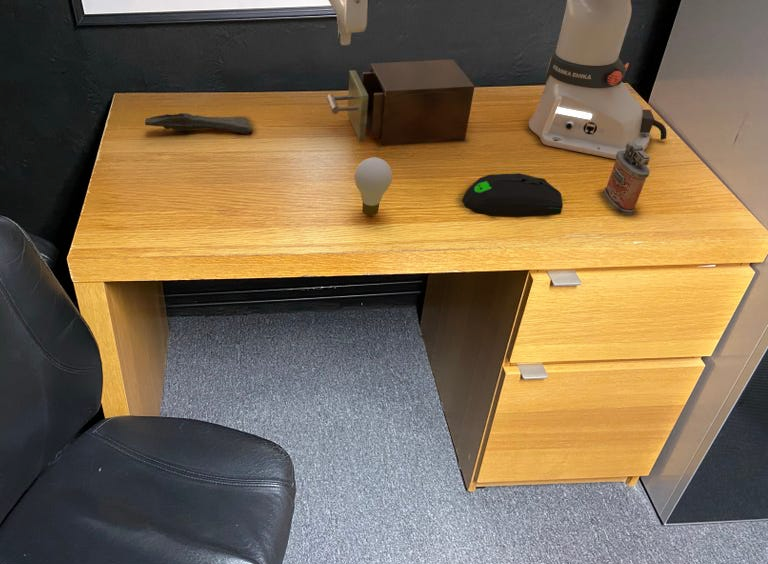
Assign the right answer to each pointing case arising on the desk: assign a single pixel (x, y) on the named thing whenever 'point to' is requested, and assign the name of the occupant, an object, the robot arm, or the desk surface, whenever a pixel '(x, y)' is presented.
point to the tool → (200, 122)
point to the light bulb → (372, 183)
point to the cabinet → (423, 101)
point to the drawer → (362, 104)
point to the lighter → (627, 179)
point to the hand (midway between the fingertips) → (344, 42)
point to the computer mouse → (513, 196)
